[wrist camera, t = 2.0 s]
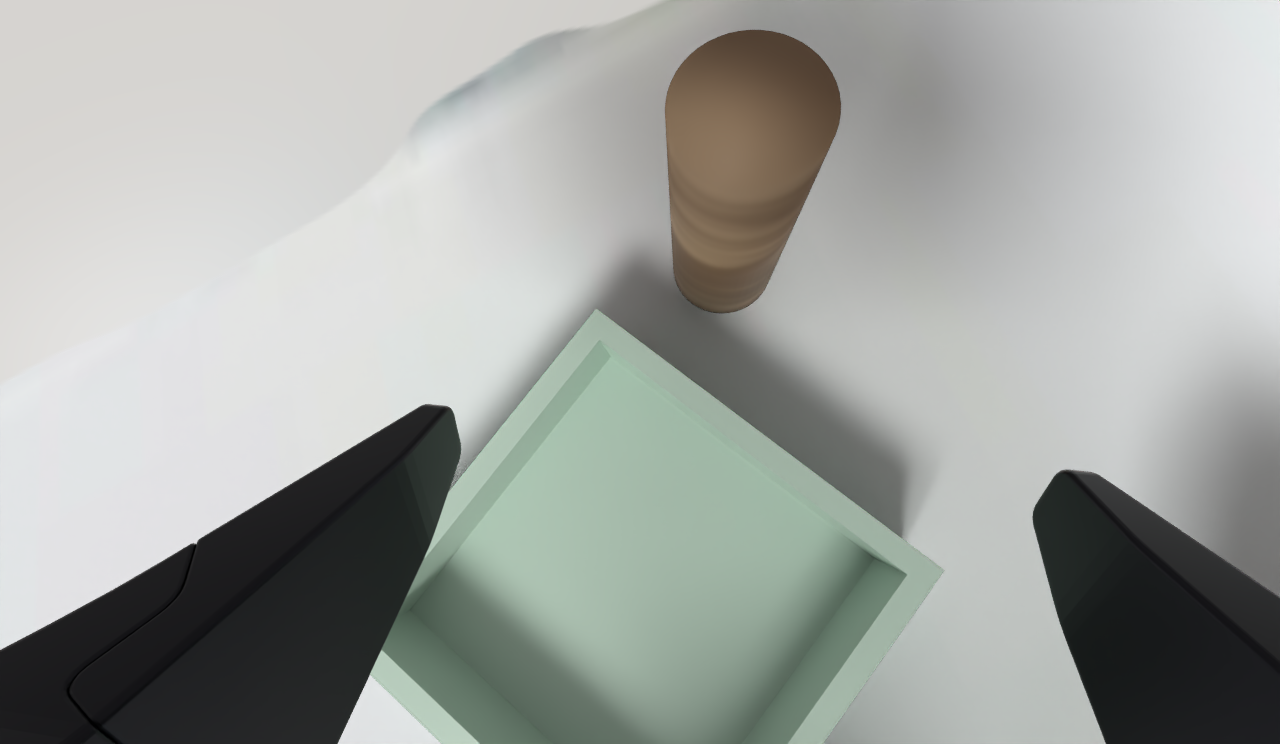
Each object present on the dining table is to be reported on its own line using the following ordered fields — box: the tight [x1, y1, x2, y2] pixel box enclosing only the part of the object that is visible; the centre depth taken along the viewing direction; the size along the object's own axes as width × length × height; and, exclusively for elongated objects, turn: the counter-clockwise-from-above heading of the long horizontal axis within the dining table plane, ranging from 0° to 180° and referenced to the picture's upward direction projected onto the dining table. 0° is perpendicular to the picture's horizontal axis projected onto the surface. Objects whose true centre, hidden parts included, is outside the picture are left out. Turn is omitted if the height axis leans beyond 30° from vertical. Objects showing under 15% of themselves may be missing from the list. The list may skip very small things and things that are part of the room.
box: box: [370, 309, 944, 744], centre depth 20 cm, size 14×14×4 cm
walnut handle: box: [665, 30, 841, 313], centre depth 18 cm, size 4×4×10 cm
